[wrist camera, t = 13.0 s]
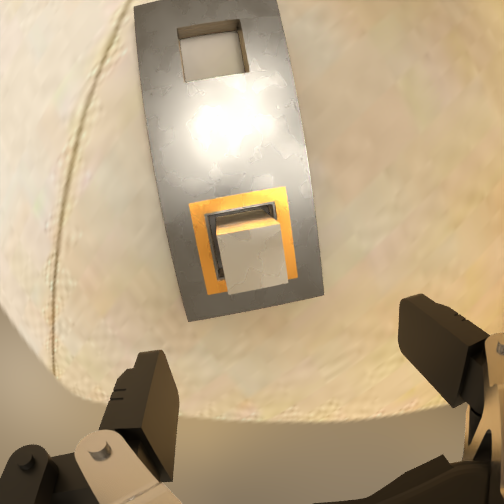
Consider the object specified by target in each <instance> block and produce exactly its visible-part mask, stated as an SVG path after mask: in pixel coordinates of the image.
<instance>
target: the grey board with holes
mask: <svg viewBox="0 0 504 504" xmlns="http://www.w3.org/2000/svg"><path fill="white" fill-rule="evenodd" d="M134 19H135V31H136V42H137V53H138V62H139V71H140V80H141V88H142V96H143V103H144V110H145V117H146V124H147V131H148V137H149V143H150V149H151V155H152V161H153V167H154V172H155V178H156V183H157V188H158V194H159V199H160V204H161V209H162V214H163V218H164V223H165V228H166V232H167V237H168V242H169V246H170V250H171V255H172V259H173V263H174V268H175V272H176V276H177V280H178V284H179V288H180V292H181V296H182V300H183V304H184V308H185V311H186V315H187V319H188V322H191V321H197V320H203V319H208V318H214V317H219V316H225V315H230V314H235V313H241V312H246V311H251V310H256V309H261V308H266V307H271V306H276V305H281V304H285V303H290V302H295V301H299V300H304V299H309V298H313V297H318V296H322V295H324V288H323V277H322V267H321V257H320V248H319V239H318V230H317V222H316V214H315V206H314V199H313V191H312V184H311V177H310V170H309V163H308V157H307V150H306V144H305V138H304V132H303V126H302V120H301V115H300V109H299V103H298V98H297V93H296V87H295V82H294V77H293V72H292V67H291V62H290V58H289V53H288V48H287V44H286V39H285V35H284V30H283V26H282V22H281V17H280V13H279V9H278V5H277V1H276V0H159V1H155V2H151V3H147V4H143V5H139V6H135V7H134ZM236 30H238V35H239V40H240V45H241V51H242V56H243V62H244V67H245V73H241V74H233V75H226V76H219V77H213V78H207V79H201V80H196V81H190V82H185V75H184V68H183V62H182V55H181V47H180V40H179V39H183V38H188V37H194V36H200V35H206V34H213V33H220V32H227V31H236ZM262 205H268V209H269V215H270V216H271V217H272V218H274V219H275V220H276V221H277V222H279V223H280V227H281V234H282V241H283V248H284V254H285V261H286V268H287V276H288V283H286V284H281V285H276V286H271V287H266V288H261V289H256V290H251V291H246V292H241V293H236V294H231V295H229V294H228V290H227V285H226V280H225V275H224V270H223V268H221V269H219V268H218V263H217V258H216V253H215V248H214V243H213V238H212V232H211V227H210V222H209V217H208V215H213V214H218V213H223V212H229V211H234V210H240V209H245V208H251V207H256V206H262Z"/></svg>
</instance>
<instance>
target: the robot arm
mask: <svg viewBox="0 0 504 504" xmlns="http://www.w3.org/2000/svg"><path fill="white" fill-rule="evenodd" d="M398 343H399V347H400V350H401V352H402V354H403V355H404V356H405V357H406V358H407V359H408V360H409V361H410V362H411V363H412V364H413V365H414V366H415V368H416V369H417V370H418V371H419V372H420V373H421V374H422V375H423V376H424V377H425V378H426V379H427V380H428V381H429V383H430V384H431V385H432V386H433V387H434V388H435V389H436V390H437V391H438V392H439V393H440V395H441V396H442V397H443V398H444V399H445V400H446V401H447V402H448V403H449V404H450V405H451V407H452V408H455V407H457V406H458V405H461V404H462V403H464V402H467V403H468V407H467V410H466V424H465V439H464V451H463V457H462V461H460V462H455V463H449V462H448V461H447V459H446V458H445V457H444V455H441V456H439V457H437V458H435V459H433V460H431V461H429V462H427V463H425V464H422V465H420V466H418V467H416V468H414V469H412V470H410V471H407V472H405V473H404V474H403V475H401V476H400V477H398V478H397V479H395V480H394V481H393V482H391V483H390V484H388V485H387V486H385V487H384V488H382V489H381V490H379V491H377V492H376V493H374V494H373V495H371V496H369V497H367V498H363V499H358V500H348V501H339V502H327V503H314V504H504V333H496V334H493V335H491V336H490V335H489V334H487V333H486V332H484V331H483V330H482V329H480V328H479V327H477V326H476V325H474V324H473V323H472V322H470V321H469V320H466V319H465V318H464V317H463V316H461V315H458V313H457V312H455V311H454V310H453V309H451V308H450V307H447V306H444V305H441V304H438V303H435V302H434V301H433V300H431V299H430V298H428V297H427V296H425V295H424V294H417V295H414V296H410V297H407V298H404V299H402V300H401V302H400V307H399V329H398ZM113 390H114V392H112V395H111V397H110V401H109V403H108V405H107V408H106V411H105V413H104V416H103V419H102V422H101V425H100V427H99V430H98V431H95V432H92V433H90V434H88V435H86V436H85V437H83V438H82V439H81V440H80V442H79V443H78V444H77V446H76V448H75V452H74V453H70V454H65V455H60V456H55V457H50V456H49V454H48V453H47V452H46V451H45V449H44V448H43V447H41V446H39V445H27V446H23V447H21V448H19V449H18V450H16V451H15V452H14V453H13V454H12V455H11V457H10V458H9V460H8V462H7V464H6V467H5V469H4V471H3V474H2V476H1V478H0V504H182V502H181V501H179V499H178V498H177V497H175V496H174V494H173V493H172V492H171V491H170V490H169V489H168V488H167V487H166V486H165V485H164V484H163V483H162V482H173V470H174V457H175V445H176V434H177V422H178V413H179V395H178V391H177V387H176V384H175V382H174V379H173V376H172V373H171V370H170V368H169V365H168V362H167V359H166V356H165V354H164V352H163V351H162V350H155V351H148V352H140V353H139V354H138V357H137V360H136V362H135V365H134V368H132V369H126V371H125V372H124V373H123V374H122V375H121V376H120V377H119V378H118V379H117V382H116V384H115V387H114V389H113Z"/></svg>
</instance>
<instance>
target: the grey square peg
mask: <svg viewBox="0 0 504 504" xmlns="http://www.w3.org/2000/svg"><path fill="white" fill-rule="evenodd" d="M216 234H217V240H218V245H219V250H220V255H221V260H222V265H223V270H224V275H225V280H226V285H227V290H228V294H229V295H231V294H236V293H241V292H246V291H251V290H256V289H261V288H266V287H271V286H276V285H281V284H286V283H288V276H287V268H286V261H285V254H284V248H283V241H282V234H281V227H280V223H279V222H277V221H276V220H275V219H274V218H272V217H271V216H270V215H269V214H268V213H266V212H265V211H264V210H263V209H257V210H252V211H246V212H241V213H235V214H230V215H225V216H220V217H216Z"/></svg>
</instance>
